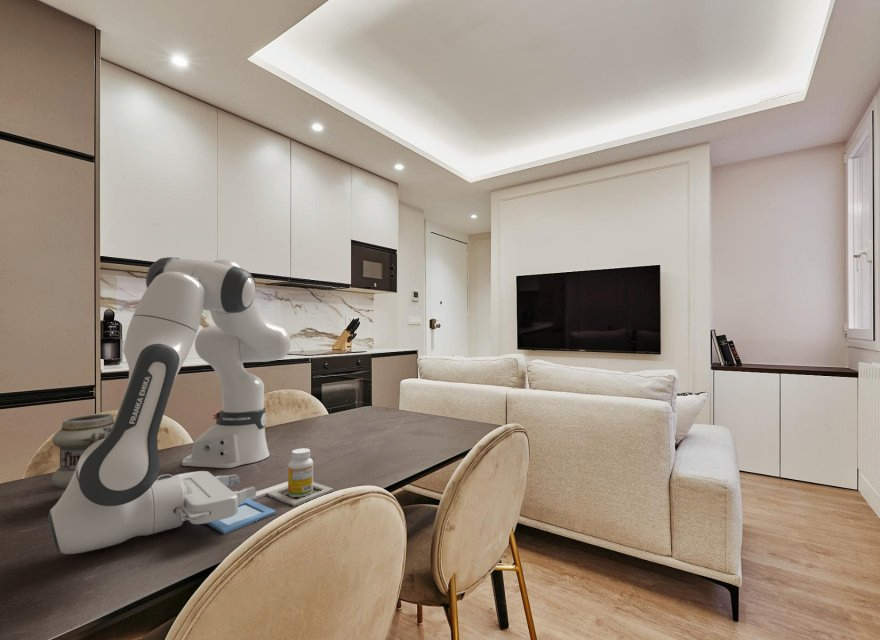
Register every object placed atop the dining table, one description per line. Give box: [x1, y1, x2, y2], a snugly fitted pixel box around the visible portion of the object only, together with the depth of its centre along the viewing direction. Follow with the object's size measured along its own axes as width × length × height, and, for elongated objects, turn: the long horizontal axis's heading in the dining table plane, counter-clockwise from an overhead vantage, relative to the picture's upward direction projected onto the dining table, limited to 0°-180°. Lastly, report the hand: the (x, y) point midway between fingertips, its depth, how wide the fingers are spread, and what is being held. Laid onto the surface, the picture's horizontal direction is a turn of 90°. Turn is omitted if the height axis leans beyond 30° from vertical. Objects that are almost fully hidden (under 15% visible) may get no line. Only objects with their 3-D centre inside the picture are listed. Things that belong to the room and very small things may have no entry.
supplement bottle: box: [287, 447, 314, 498], centre depth 95 cm, size 5×5×10 cm
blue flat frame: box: [205, 481, 335, 535], centre depth 90 cm, size 25×13×1 cm, turn 144°
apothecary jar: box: [51, 413, 115, 490], centre depth 93 cm, size 12×12×18 cm
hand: (246, 484), depth 87 cm, fingers open, 8 cm apart
